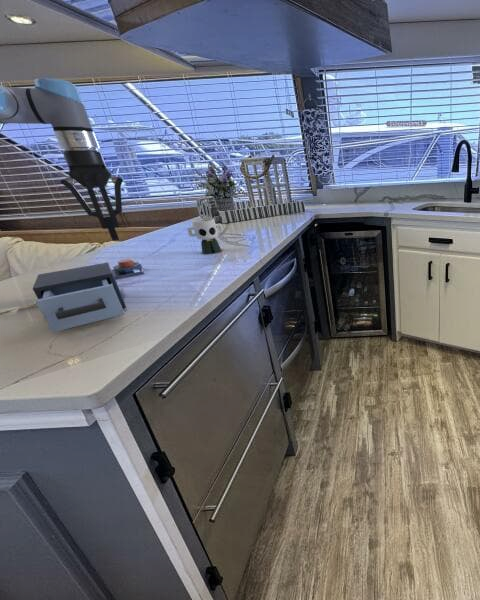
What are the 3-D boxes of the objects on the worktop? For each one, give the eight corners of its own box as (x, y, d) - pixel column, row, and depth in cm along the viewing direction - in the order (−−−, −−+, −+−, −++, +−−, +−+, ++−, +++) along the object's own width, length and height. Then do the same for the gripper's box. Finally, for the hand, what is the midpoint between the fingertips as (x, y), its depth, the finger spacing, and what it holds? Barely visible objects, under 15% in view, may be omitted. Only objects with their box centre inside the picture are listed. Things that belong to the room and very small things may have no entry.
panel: (93, 289, 89) (87, 276, 88) (92, 281, 96) (86, 268, 94) (147, 278, 97) (142, 265, 95) (142, 271, 103) (138, 259, 102)
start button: (120, 268, 94) (118, 263, 94) (119, 266, 97) (117, 261, 96) (135, 266, 97) (133, 260, 96) (134, 263, 99) (132, 258, 98)
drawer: (126, 320, 67) (114, 290, 64) (50, 341, 60) (33, 308, 57) (119, 299, 79) (108, 273, 76) (55, 314, 72) (40, 285, 69)
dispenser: (126, 307, 76) (111, 273, 73) (52, 326, 68) (32, 288, 65) (121, 293, 85) (108, 262, 82) (55, 308, 78) (38, 274, 74)
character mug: (197, 260, 113) (186, 223, 108) (195, 256, 119) (184, 221, 113) (231, 254, 119) (221, 219, 114) (227, 251, 125) (218, 217, 119)
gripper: (45, 149, 77) (85, 245, 87) (114, 149, 86) (144, 237, 95) (47, 150, 83) (85, 241, 92) (112, 151, 91) (141, 234, 100)
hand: (115, 239), depth 93 cm, fingers closed
